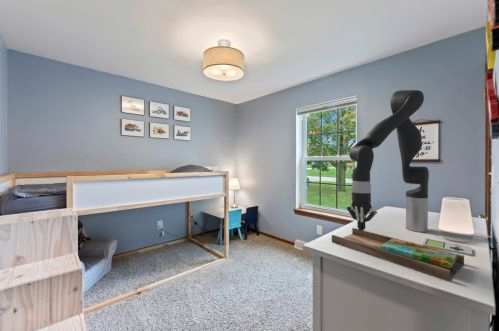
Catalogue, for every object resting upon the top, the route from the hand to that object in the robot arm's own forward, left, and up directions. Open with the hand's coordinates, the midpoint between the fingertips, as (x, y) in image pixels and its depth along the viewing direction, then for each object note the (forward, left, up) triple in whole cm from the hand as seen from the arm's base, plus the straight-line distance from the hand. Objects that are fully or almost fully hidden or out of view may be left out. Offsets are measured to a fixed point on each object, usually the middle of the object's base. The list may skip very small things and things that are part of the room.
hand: (361, 229), depth 97 cm
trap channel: (0, +12, -6) cm, 13 cm away
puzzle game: (+1, +21, -6) cm, 22 cm away
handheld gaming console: (-24, +24, -7) cm, 34 cm away
